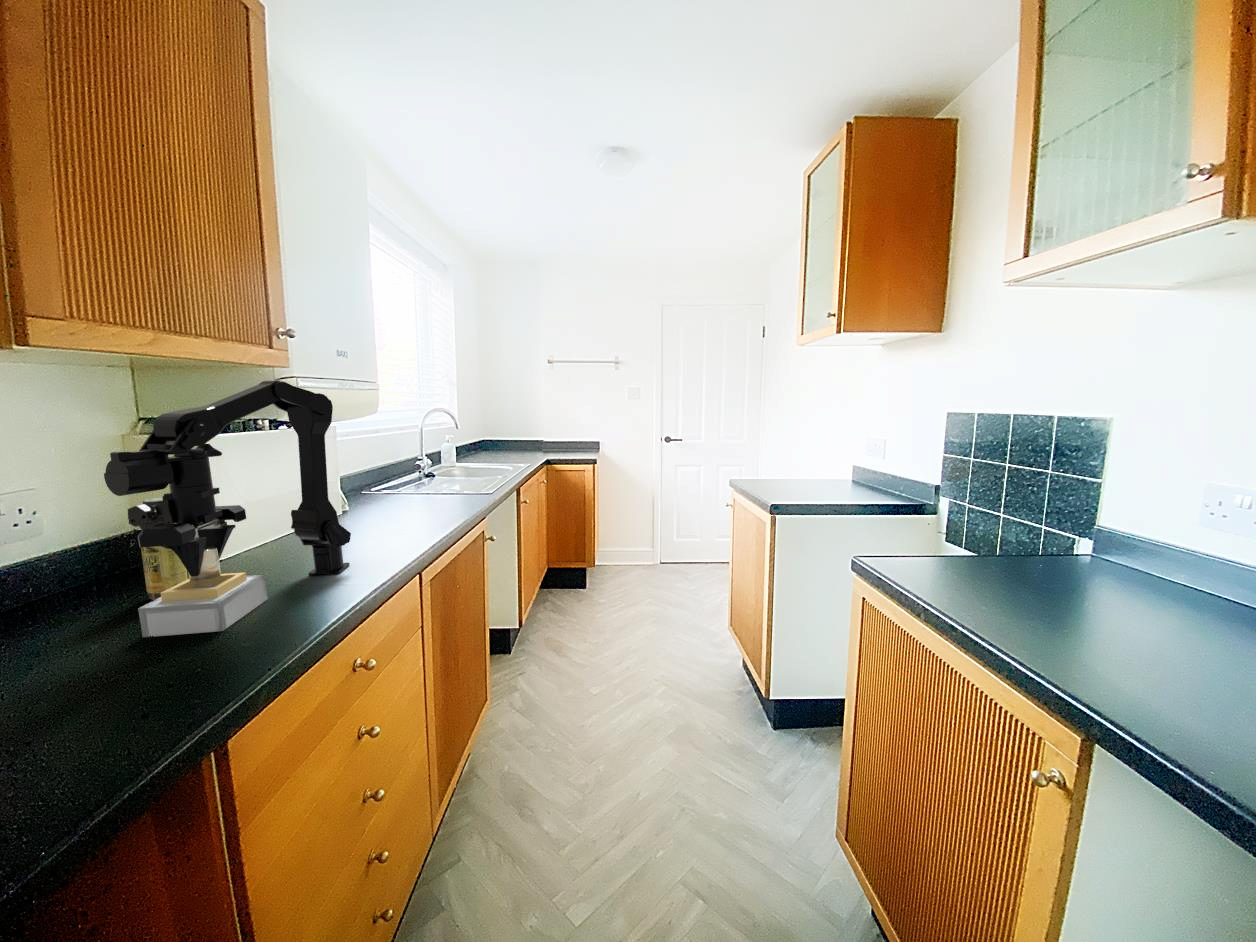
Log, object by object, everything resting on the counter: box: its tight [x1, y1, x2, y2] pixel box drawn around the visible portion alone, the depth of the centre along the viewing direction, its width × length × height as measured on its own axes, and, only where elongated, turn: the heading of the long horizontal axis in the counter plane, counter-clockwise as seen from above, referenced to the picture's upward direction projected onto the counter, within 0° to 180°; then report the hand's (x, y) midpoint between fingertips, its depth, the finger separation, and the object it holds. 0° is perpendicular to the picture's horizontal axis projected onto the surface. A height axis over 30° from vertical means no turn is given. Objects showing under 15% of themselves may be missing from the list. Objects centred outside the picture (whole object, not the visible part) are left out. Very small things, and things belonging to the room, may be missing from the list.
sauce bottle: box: [140, 497, 189, 601], centre depth 102 cm, size 6×6×20 cm
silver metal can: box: [187, 546, 222, 581], centre depth 91 cm, size 4×4×5 cm
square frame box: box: [137, 571, 269, 638], centre depth 92 cm, size 14×12×6 cm
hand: (204, 571), depth 91 cm, fingers closed on silver metal can, 4 cm apart
